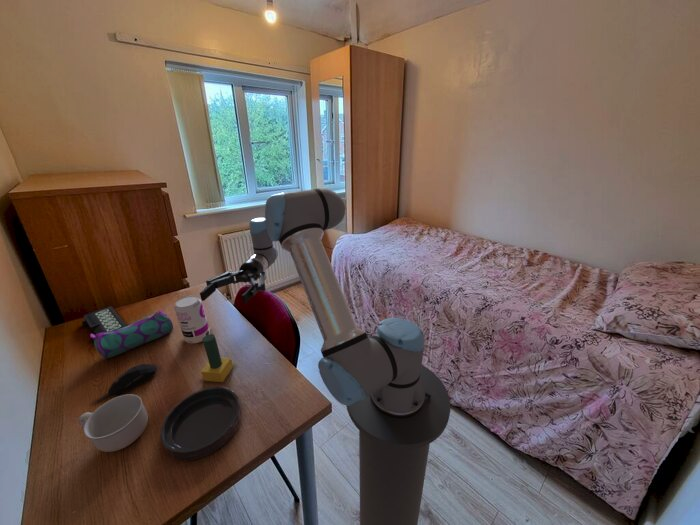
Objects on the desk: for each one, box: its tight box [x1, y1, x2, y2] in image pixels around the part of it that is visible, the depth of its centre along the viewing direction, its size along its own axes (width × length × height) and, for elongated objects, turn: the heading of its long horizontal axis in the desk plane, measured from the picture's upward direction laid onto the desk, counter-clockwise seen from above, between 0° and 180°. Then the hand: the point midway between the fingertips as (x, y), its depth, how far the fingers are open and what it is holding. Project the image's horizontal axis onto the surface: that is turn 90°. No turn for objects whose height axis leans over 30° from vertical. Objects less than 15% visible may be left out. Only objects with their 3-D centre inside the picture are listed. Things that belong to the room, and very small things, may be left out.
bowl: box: [159, 386, 243, 462], centre depth 70 cm, size 17×17×4 cm
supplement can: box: [174, 295, 211, 344], centre depth 98 cm, size 8×8×15 cm
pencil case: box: [89, 310, 174, 360], centre depth 96 cm, size 21×9×10 cm, turn 138°
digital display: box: [81, 306, 128, 342], centre depth 107 cm, size 21×3×10 cm
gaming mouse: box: [96, 363, 158, 403], centre depth 82 cm, size 6×15×4 cm, turn 142°
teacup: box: [77, 393, 149, 453], centre depth 67 cm, size 14×11×8 cm
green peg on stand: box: [200, 333, 234, 383], centre depth 83 cm, size 6×6×14 cm
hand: (222, 298), depth 86 cm, fingers open, 13 cm apart
